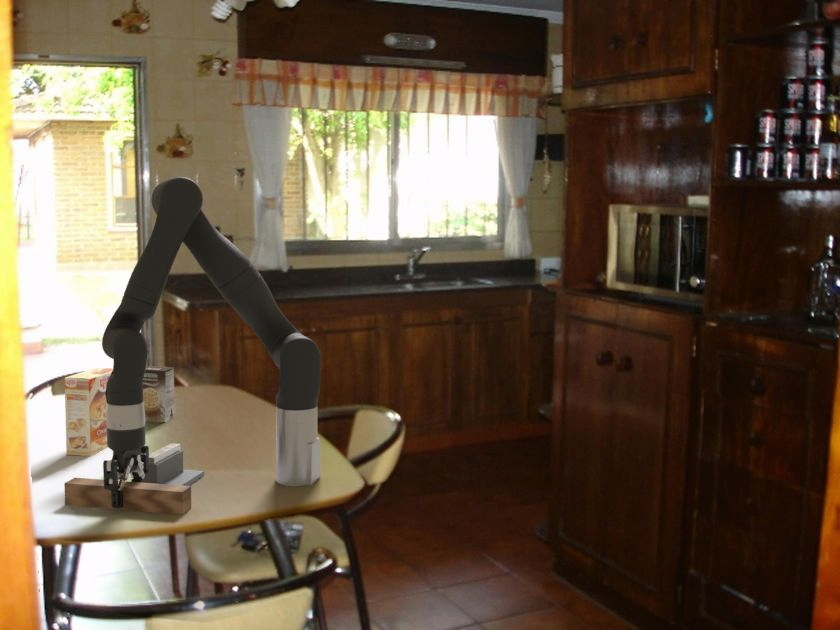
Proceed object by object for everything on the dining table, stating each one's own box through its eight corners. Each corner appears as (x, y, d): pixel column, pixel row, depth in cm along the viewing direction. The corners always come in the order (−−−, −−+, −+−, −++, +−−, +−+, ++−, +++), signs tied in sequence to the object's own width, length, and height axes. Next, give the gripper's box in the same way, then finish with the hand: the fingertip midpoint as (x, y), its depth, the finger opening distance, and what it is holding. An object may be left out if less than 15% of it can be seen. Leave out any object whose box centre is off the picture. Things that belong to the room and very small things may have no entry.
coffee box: (135, 425, 262) (133, 369, 261) (145, 420, 269) (144, 365, 267) (165, 427, 261) (164, 370, 259) (175, 422, 267) (174, 366, 265)
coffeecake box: (91, 456, 230) (89, 378, 228) (65, 455, 231) (62, 377, 229) (121, 441, 245) (119, 368, 243) (96, 440, 246) (94, 367, 244)
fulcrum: (204, 477, 214) (203, 443, 213) (170, 498, 199) (170, 461, 198) (156, 473, 217) (155, 439, 216) (119, 493, 201) (118, 457, 201)
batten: (191, 509, 193) (191, 486, 192) (183, 516, 189) (182, 491, 189) (75, 500, 198) (74, 477, 197) (65, 506, 194) (64, 483, 193)
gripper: (124, 433, 184) (125, 514, 186) (160, 417, 197) (161, 493, 199) (89, 430, 185) (91, 511, 187) (127, 415, 199) (129, 490, 201)
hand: (127, 502), depth 193 cm, fingers open, 7 cm apart
